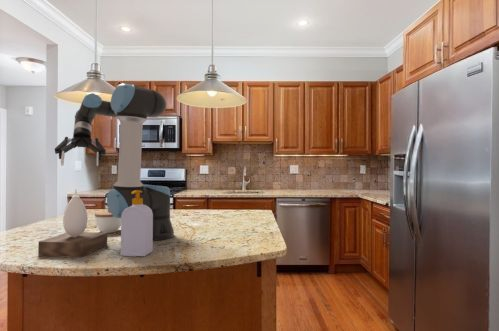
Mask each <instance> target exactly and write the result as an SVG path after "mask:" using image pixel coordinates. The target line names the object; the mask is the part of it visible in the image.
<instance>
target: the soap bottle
mask: <svg viewBox="0 0 499 331" xmlns="http://www.w3.org/2000/svg"><path fill="white" fill-rule="evenodd" d="M134 193H136V198H133V199H132V206H130V207H128V208H126V209H125V210H124V211H123V212H122V215H121V227H120V255H121V256H122V257H136V256H144V257H146V256H147V255H149V254H150V253H152V252H153V250H154V249H153V247H154V246H153V245H154V244H153V241H154V240H153V213H152V210H151V209H150V207H148V206H146V205H143V198H140V193H142V191H140V190H135V191H132V193H131V194H134Z"/></svg>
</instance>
